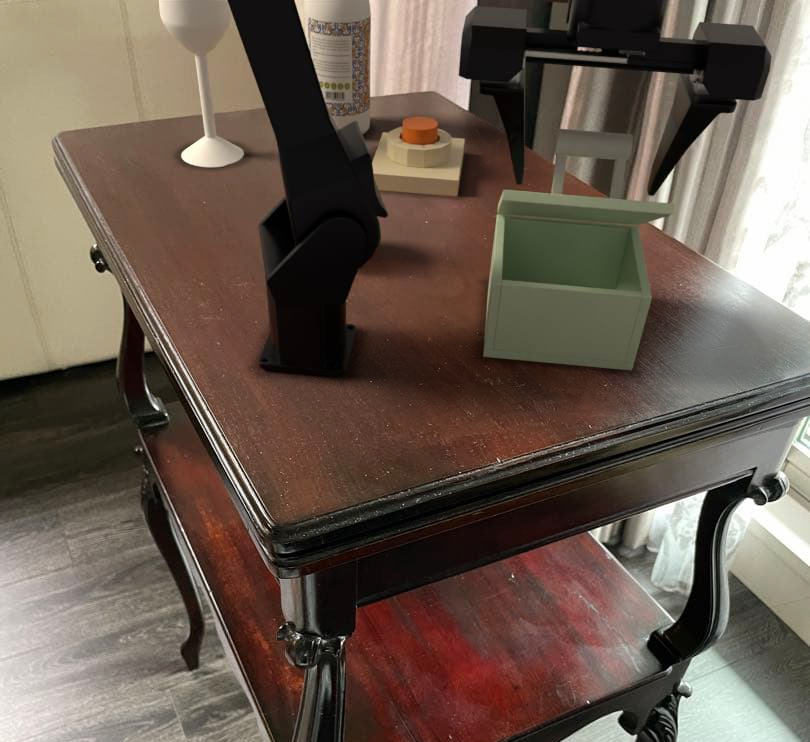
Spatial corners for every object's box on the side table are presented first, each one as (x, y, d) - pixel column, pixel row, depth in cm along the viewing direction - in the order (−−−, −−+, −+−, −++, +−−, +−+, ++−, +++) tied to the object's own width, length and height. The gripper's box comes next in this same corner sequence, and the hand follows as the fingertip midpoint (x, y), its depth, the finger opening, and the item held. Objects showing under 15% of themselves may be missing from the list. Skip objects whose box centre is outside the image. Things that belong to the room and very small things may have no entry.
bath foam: (376, 138, 94) (378, -80, 80) (315, 142, 93) (306, -79, 78) (362, 116, 99) (362, -94, 84) (304, 119, 97) (294, -94, 83)
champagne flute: (240, 168, 87) (211, -123, 70) (175, 166, 87) (129, -127, 70) (248, 143, 92) (223, -136, 75) (187, 141, 92) (147, -139, 74)
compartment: (631, 370, 64) (652, 297, 60) (483, 356, 65) (492, 283, 60) (621, 295, 72) (638, 225, 67) (488, 283, 72) (496, 213, 68)
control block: (457, 197, 84) (460, 161, 82) (368, 189, 85) (368, 154, 82) (463, 154, 92) (466, 121, 89) (382, 148, 92) (382, 114, 90)
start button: (435, 148, 85) (436, 130, 84) (400, 146, 85) (400, 128, 84) (438, 135, 87) (439, 117, 86) (404, 132, 87) (404, 115, 86)
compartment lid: (673, 214, 56) (687, 134, 54) (502, 200, 56) (511, 120, 55) (638, 225, 67) (649, 158, 66) (497, 213, 68) (504, 147, 66)
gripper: (773, -100, 53) (702, 154, 64) (479, -118, 54) (459, 135, 65) (815, -63, 45) (725, 218, 56) (470, -85, 46) (449, 196, 57)
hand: (584, 188), depth 59 cm, fingers open, 9 cm apart
